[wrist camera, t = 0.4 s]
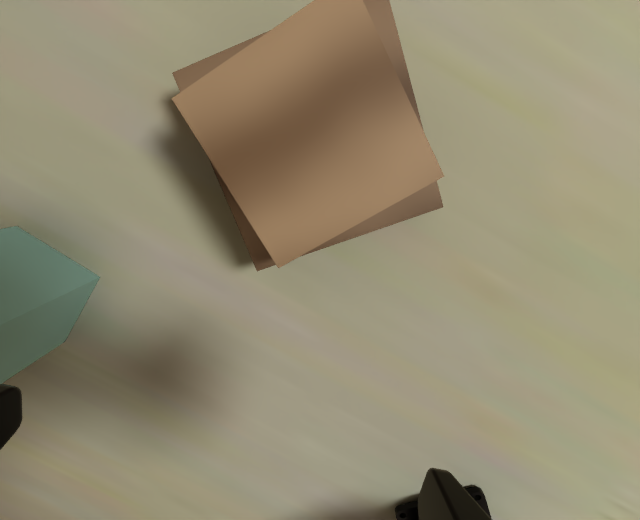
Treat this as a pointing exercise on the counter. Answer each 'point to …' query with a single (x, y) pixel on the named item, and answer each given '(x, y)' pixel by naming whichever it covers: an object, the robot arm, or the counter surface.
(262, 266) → the base plinth
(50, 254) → the teal block
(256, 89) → the top coaster
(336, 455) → the counter surface
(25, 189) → the counter surface
